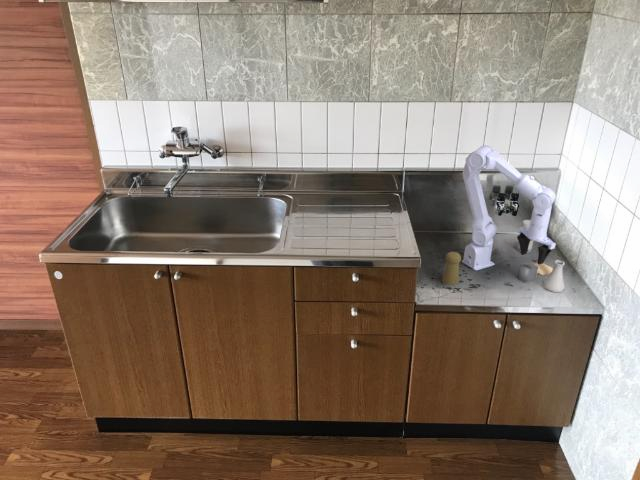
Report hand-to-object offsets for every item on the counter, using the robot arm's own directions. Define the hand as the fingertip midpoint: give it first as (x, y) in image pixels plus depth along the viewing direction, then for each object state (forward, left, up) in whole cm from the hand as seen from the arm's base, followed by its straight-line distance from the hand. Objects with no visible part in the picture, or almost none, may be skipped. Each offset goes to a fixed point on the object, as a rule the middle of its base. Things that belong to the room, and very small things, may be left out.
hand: (531, 258), depth 182 cm
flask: (+3, -9, -8) cm, 12 cm away
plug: (0, 0, -8) cm, 8 cm away
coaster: (+9, +2, -8) cm, 12 cm away
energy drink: (+15, +16, -8) cm, 23 cm away
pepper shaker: (-26, +11, -8) cm, 29 cm away
